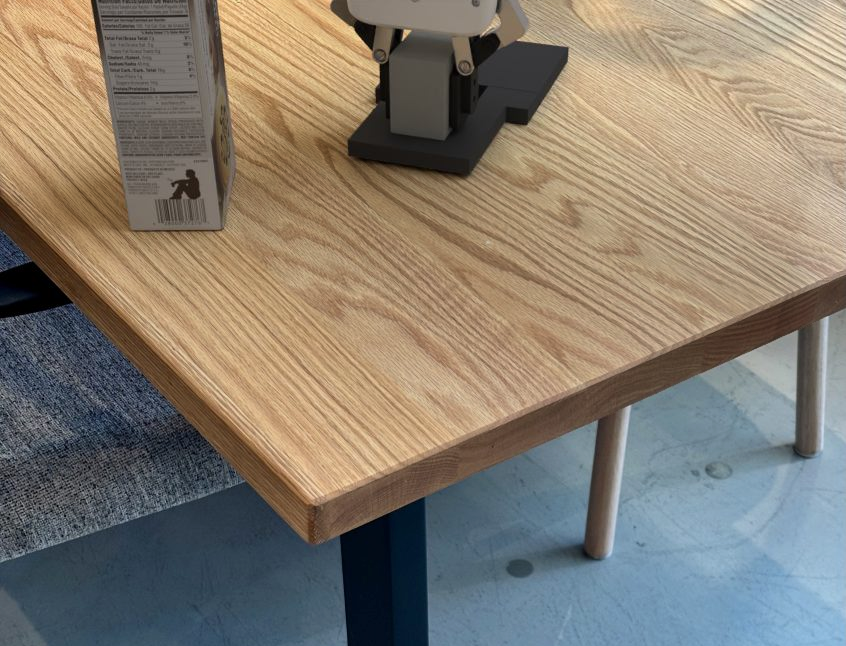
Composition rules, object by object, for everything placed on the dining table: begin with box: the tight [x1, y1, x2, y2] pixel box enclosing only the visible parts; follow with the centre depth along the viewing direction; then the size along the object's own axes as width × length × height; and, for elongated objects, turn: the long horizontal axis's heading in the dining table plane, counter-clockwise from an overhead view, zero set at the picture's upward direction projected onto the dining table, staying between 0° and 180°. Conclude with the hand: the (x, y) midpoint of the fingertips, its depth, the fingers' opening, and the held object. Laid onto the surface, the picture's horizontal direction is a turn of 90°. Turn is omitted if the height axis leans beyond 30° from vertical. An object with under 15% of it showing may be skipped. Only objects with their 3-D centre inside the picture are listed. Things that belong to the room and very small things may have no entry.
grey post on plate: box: [346, 30, 506, 176], centre depth 94 cm, size 9×12×7 cm
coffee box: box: [90, 0, 237, 231], centre depth 84 cm, size 9×6×16 cm
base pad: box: [374, 40, 570, 125], centre depth 103 cm, size 12×12×1 cm
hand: (428, 113), depth 94 cm, fingers closed on grey post on plate, 4 cm apart
